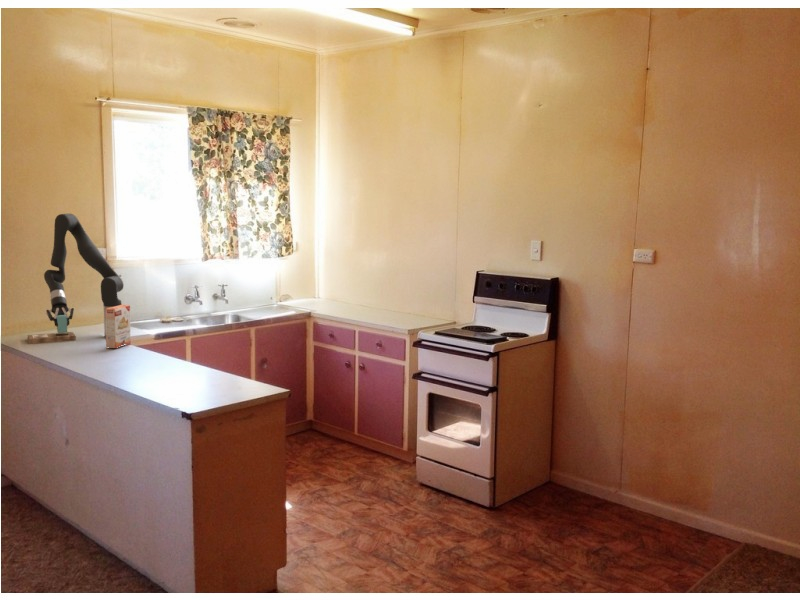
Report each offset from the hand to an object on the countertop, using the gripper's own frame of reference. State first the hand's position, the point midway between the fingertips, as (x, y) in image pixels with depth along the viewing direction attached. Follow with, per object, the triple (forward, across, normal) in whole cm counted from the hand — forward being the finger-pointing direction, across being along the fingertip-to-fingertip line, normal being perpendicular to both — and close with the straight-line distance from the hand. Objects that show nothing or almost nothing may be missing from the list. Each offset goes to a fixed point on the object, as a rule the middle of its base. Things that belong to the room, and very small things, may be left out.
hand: (62, 325), depth 386 cm
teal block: (+2, 0, +4) cm, 4 cm away
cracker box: (+25, +24, -12) cm, 36 cm away
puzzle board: (+4, -5, +7) cm, 10 cm away
